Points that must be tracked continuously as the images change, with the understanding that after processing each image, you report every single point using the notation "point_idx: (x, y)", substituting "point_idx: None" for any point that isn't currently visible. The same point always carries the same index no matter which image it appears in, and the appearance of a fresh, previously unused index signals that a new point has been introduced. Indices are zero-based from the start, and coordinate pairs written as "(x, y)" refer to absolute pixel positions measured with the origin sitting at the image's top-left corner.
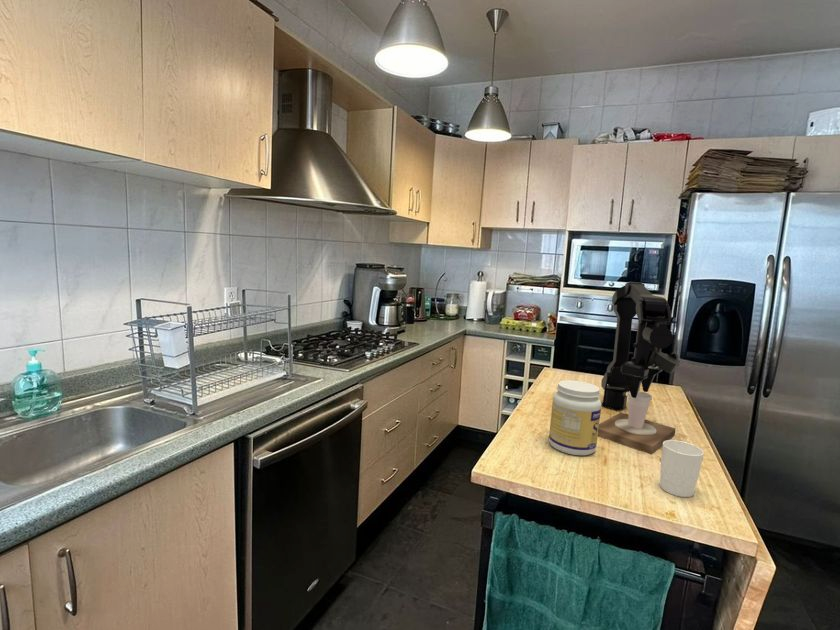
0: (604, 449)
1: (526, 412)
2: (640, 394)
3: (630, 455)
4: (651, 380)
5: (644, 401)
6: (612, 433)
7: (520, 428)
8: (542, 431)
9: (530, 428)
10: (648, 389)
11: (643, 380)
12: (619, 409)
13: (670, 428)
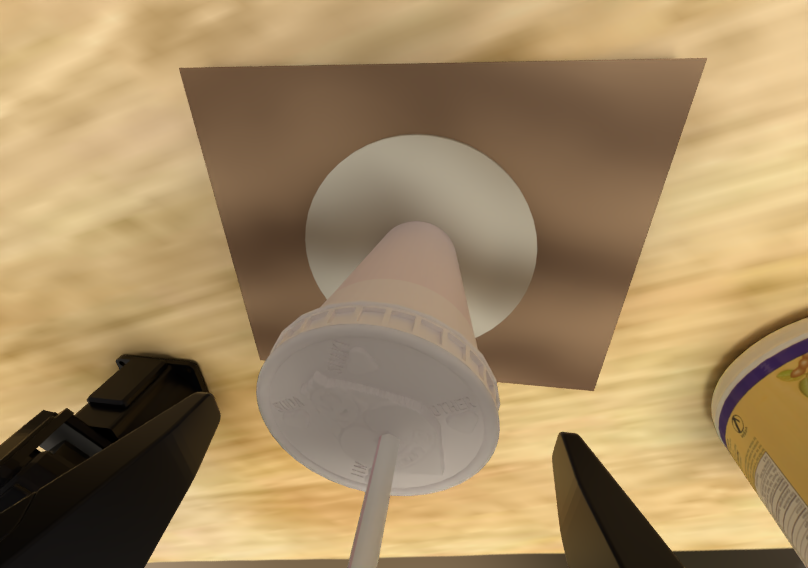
0: (765, 278)
1: (531, 542)
2: (402, 424)
3: (779, 153)
4: (61, 522)
5: (458, 338)
6: (620, 310)
7: (719, 528)
8: (697, 483)
9: (693, 511)
10: (174, 409)
11: (135, 550)
12: (185, 366)
13: (216, 94)
